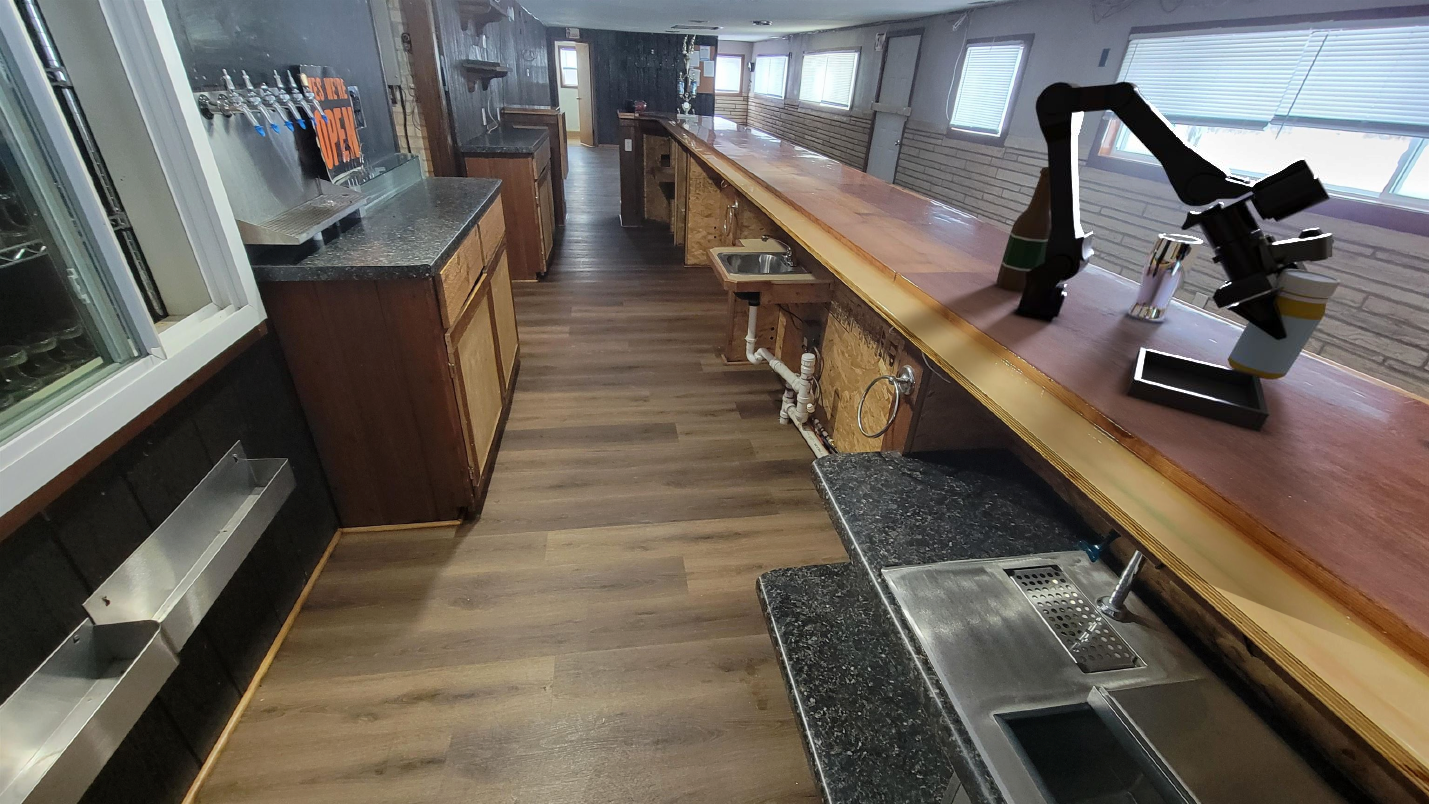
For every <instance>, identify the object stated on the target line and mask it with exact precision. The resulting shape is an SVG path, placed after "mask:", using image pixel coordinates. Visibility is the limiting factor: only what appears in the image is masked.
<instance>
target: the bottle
mask: <svg viewBox="0 0 1429 804" xmlns="http://www.w3.org/2000/svg"><path fill="white" fill-rule="evenodd" d="M1277 280H1278V285H1279V286H1277V287H1275V288H1274V290H1275V289H1278V288H1281V287H1283V286H1284V289H1283V291H1282V293H1281V294H1280V296H1279V298H1278V300H1277V304H1278V307H1279V310H1280V313H1281V317H1282V320H1283V323H1284V326H1285V330H1286V333H1287V337H1286V338H1284V339H1281V340H1276V339H1275V338H1273V337H1272V336H1270V335H1269V334H1267V333H1266V332H1264V331H1263V330H1261V329H1260V328H1258V327H1257V326H1255V325H1253V324H1252V323H1250V322H1249V321H1247V324H1246V326H1245V328H1244V329H1243V331H1242V333H1241V335H1240V336H1239V337H1238V340H1237V341H1236V343H1235V345H1234V347H1233V349H1232V350H1231V352H1230V353H1229V356H1228V358H1227V362H1228V365H1229V366H1230V367H1231V369H1236V370H1240V371H1244V372H1248V373H1252V374H1256V375H1259V376H1260V379H1261V380H1262V379H1263V380H1278V379H1281V378H1284V377H1285V376H1286V375H1287V374H1288V372H1289V371H1290V369H1291V368H1292V367H1293V365H1294V363H1295V362H1296V360H1297V359H1298V357H1299V356H1300V354H1301V352H1302V351H1303V349H1304V348H1305V346H1306V345H1307V343H1308V342H1309V340H1310V338H1311V337H1312V336H1313V334H1314V332H1315V331H1316V329H1317V327H1318V326H1319V324H1320V323H1321V321H1322V319H1323V317H1324V316H1325V314H1326V307H1327V304H1328V303H1329V301H1330V299H1331V297H1333V295H1334V294H1335V292H1336V291H1337V289H1338V287H1339V285H1340V284H1341V280H1340V279H1339V278H1337V277H1334V276H1331V275H1327V274H1325V273H1320V272H1315V271H1310V270H1307V271H1305V270H1297V269H1284V270H1283V271H1282V272H1281V274H1280V275H1279V277H1278V279H1277Z"/></svg>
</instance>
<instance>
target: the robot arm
mask: <svg viewBox="0 0 1429 804" xmlns="http://www.w3.org/2000/svg"><path fill="white" fill-rule="evenodd" d="M1102 111H1111V112H1112V113H1114V115H1115V116H1116V117H1117V118H1118V119H1119V120H1120V121H1121V122H1122V124H1123V125H1124V126H1125V127H1126V128H1127V129H1128V130H1129V131H1130V132H1131V133H1132V134H1133V135H1134V136H1135V137H1136V138H1137V140H1139V142H1140V143H1141V144H1142V145H1143V146H1144V147H1145V148H1146V149H1147V150H1148V151H1149V153H1150V154H1151V155H1152V156H1153V157H1154V158H1155V159H1156V160H1157V161H1158V162H1159V163H1160V165H1161V167H1162V168H1163V171H1164V172H1165V174H1166V177H1167V179H1168V181H1169V183H1170V185H1171V187H1172V189H1173V190H1174V192H1175V194H1176V195H1177V198H1178V199H1179V200H1180V201H1181V202H1182V203H1183V204H1184V205H1187V206H1189V207H1204V206H1207V205H1210V204H1212V203H1214V202H1216V201H1217V200H1236V199H1239V198H1241V197H1243V196H1245V195H1247V196H1246V197H1243V198H1242V199H1239V200H1237V201H1235V202H1232V203H1230V204H1229V205H1225V203H1223V202H1218V203H1216V204H1214V205H1212V206H1210V207H1208V208H1206V209H1204V210H1202V211H1200V212H1195V211H1188V212H1187V214H1186V218H1185V221H1184V222H1183V223H1182V225H1181V226H1180V229H1181V230H1182V231H1190V230H1192V229H1194V228H1196V227H1198V226H1199V228H1200V230H1201V232H1202V234H1203V235H1204V237H1205V239H1206V241H1207V243H1208V244H1209V247H1210V248H1211V250H1212V252H1213V253H1214V255H1215V256H1213V257H1211V260H1212V262H1213V263H1214V264H1215V265H1216V264H1220V266H1221V268H1222V269H1223V272H1224V273H1225V275H1226V277H1227V278H1228V280H1227V281H1224V283H1225V285H1223V286H1220V287H1218V288H1216V290H1215V292H1214V294H1213V295H1212V297H1211V298H1212V299H1213V301H1214V303H1215V305H1216V307H1217V308H1218V309H1222V308H1226V310H1228V311H1231V312H1232V313H1234V314H1236V315H1237V316H1239V317H1241V318H1242V319H1243V320H1245V321H1247V322H1250V323H1252V324H1253V325H1255V326H1257V327H1258V328H1260V329H1261V330H1263V331H1264V332H1266V333H1267V334H1269V335H1270V336H1272V337H1273V338H1275V339H1276V340H1281V339H1284V338H1286V337H1287V333H1286V330H1285V326H1284V323H1283V320H1282V317H1281V313H1280V310H1279V307H1278V304H1277V300H1278V298H1279V296H1280V294H1281V293H1282V291H1283V289H1284V286H1283V287H1281V288H1278V289H1275V290H1274V288H1275V287H1277V286H1279V285H1278V280H1277V279H1278V277H1279V275H1280V274H1281V272H1282V271H1283V270H1284V269H1297V270H1305V271H1308V269H1307V268H1306V266H1305V264H1304V262H1310V263H1313V262H1320V261H1326V260H1328V259H1329V258H1332V257H1333V244H1334V243H1335V239H1333V233H1331V232H1329V233H1326V234H1325V232H1323V230H1322V229H1321V228H1320V227H1316V228H1309V229H1305V230H1302V231H1301V232H1300V233H1299V235H1298V237H1297V238H1291V239H1287V240H1280V241H1277V239H1276V238H1275V236H1274V235H1273V234H1271V235H1270V234H1269V233H1268V234H1265V233H1264V232H1263V230H1262V228H1261V226H1260V224H1259V223H1258V222H1257V220H1256V218H1255V216H1254V215H1253V213H1252V211H1251V209H1250V207H1249V206H1248V204H1247V203H1249V202H1251V204H1252V205H1253V207H1254V209H1255V211H1256V212H1257V215H1259V217H1260V218H1261V220H1262V221H1266V220H1268V221H1269V220H1272V219H1273V220H1274V221H1275V222H1276V223H1279V222H1282V221H1283V220H1286V219H1289V218H1290V217H1292V216H1295V215H1298V214H1299V213H1302V212H1303V211H1306V210H1308V209H1311V208H1314V207H1316V206H1318V205H1320V204H1323V203H1325V202H1327V201H1329V200H1331V197H1330V195H1329V193H1328V191H1327V190H1326V188H1325V186H1324V185H1323V183H1322V181H1321V179H1320V178H1319V175H1318V174H1317V175H1315V174H1314V172H1313V170H1312V169H1311V167H1310V166H1309V164H1308V163H1307V161H1306V159H1305V158H1304V157H1300V158H1298V159H1295V160H1294V161H1292V162H1290V163H1289V164H1287V165H1286V166H1285V167H1283V168H1281V169H1279V170H1277V171H1275V172H1273V173H1270V174H1269V175H1267V176H1265V177H1263V178H1261V179H1259V180H1257V181H1255V180H1251V179H1250V178H1249V177H1247V178H1243V177H1240V176H1236V175H1232V173H1231V171H1230V170H1229V168H1228V167H1226V166H1225V165H1223V164H1222V163H1220V161H1218V160H1217V159H1214V158H1213V157H1211V156H1210V155H1208V154H1207V153H1206V152H1203V151H1202V150H1200V149H1198V148H1197V147H1195V146H1193V144H1191V143H1189V142H1188V141H1187V140H1186V139H1185V138H1184V136H1183V135H1181V133H1180V132H1179V131H1178V130H1177V129H1176V128H1175V127H1174V126H1173V125H1172V124H1171V123H1170V122H1169V121H1168V120H1167V119H1166V117H1165V116H1164V115H1162V114H1161V113H1160V112H1159V110H1158V109H1157V108H1156V107H1155V106H1154V105H1153V104H1152V103H1151V101H1149V100H1148V99H1147V97H1145V95H1143V93H1141V91H1140V88H1139V87H1138V85H1137V84H1135V83H1134V82H1129V81H1118V82H1116V83H1110V84H1100V85H1099V84H1098V85H1086V86H1080V85H1079V84H1078V83H1074V82H1073V83H1072V82H1065V81H1058V82H1054V83H1051V84H1049V85H1048V86H1046V87H1045V88H1044V89H1043V90H1042V91H1041V92H1040V94H1039V95H1038V96H1037V98H1036V101H1035V112H1036V113H1035V114H1036V117H1037V121H1038V125H1039V129H1040V131H1041V134H1042V136H1043V138H1044V141H1045V143H1046V146H1047V167H1048V171H1049V194H1050V217H1051V231H1050V235H1049V238H1048V241H1047V245H1046V249H1045V256H1044V263H1042V264H1040V265H1038V266H1037V267H1035V268H1033V269H1031V270H1030V271H1028V272H1026V284H1025V287H1024V290H1023V292H1021V293H1022V294H1021V297H1020V299H1019V302H1018V306H1017V308H1016V309H1015V310H1014V314H1015V315H1018V316H1023V317H1027V318H1030V319H1031V318H1032V319H1036V320H1040V321H1044V322H1048V323H1052V322H1053V321H1054V320H1055V319H1056V318H1058V317H1059V315H1060V313H1061V311H1062V308H1063V306H1064V303H1065V300H1066V297H1067V292H1065V290H1066V287H1067V284H1066V283H1065V282H1067V281H1068V280H1070V279H1072V278H1074V277H1075V276H1077V275H1078V274H1080V273H1081V272H1082V271H1083V270H1084V269H1085V268H1087V266H1088V264H1089V263H1090V258H1091V257H1092V256H1094V255H1095V252H1094V251H1093V247H1092V243H1093V236H1094V235H1093V234H1094V233H1093V231H1090V232H1086V233H1084V231H1083V229H1082V226H1081V224H1080V202H1079V199H1080V197H1079V169H1078V166H1079V165H1078V164H1079V163H1078V135H1079V133H1080V129H1081V125H1082V122H1083V119H1084V113H1091V112H1102ZM1249 193H1252V194H1250V195H1248V194H1249Z"/></svg>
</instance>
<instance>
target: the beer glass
mask: <svg viewBox="0 0 1429 804" xmlns="http://www.w3.org/2000/svg"><path fill="white" fill-rule="evenodd" d="M1203 242H1204V241H1203V240H1201V239H1199V238H1196V237H1193V236H1188V235H1182V234H1172V233H1160V234H1158V235H1157V238H1156V240H1155V241H1154V243H1153V245H1152V246H1151V249H1150V251H1149V253H1148V256H1147V257H1146V260H1145V263H1144V266H1143V270H1142V273H1141V278H1140V282H1139V287H1138V291H1137V294H1136V297H1135V299H1134V300H1133V302H1132V304H1131V305H1130V306H1129V308H1128V310H1127V312H1126V313H1127V315H1128V316H1129V317H1131V318H1134V319H1136V320H1140V321H1144V322H1150V323H1162V322H1164V321H1165V319H1166V316H1167V311H1168V308H1169V305H1170V303H1171V301H1172V299H1173V297H1174V296H1175V295H1176V293H1177V292H1178V290H1179V289H1180V287H1182V285H1183V284H1184V282H1185V280H1186V279H1187V277H1189V275H1190V272H1191V271H1192V269H1193V267H1194V265H1195V262H1196V260H1197V257H1198V255H1199V253H1200V250H1201V247H1202V245H1203Z"/></svg>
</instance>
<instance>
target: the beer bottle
mask: <svg viewBox="0 0 1429 804" xmlns="http://www.w3.org/2000/svg"><path fill="white" fill-rule="evenodd" d="M1039 174H1040V176H1039V178H1038V181H1037V184H1036V187H1035V189H1034V192H1033V195H1032V197H1031V199H1030V202H1029V203H1028V206H1027V208H1026V209H1025V210H1024V211H1022V212H1021V214H1020V215H1019V216H1018V217H1017V219H1016V220H1015V221H1014V223H1013V225H1012V227H1011V230H1010V233H1009V235H1008V238H1007V239H1008V240H1007V243H1006V247H1005V250H1004V252H1003V257H1002V260H1001V262H1000V263H1001V264H1000V267H999V270H998V273H997V278H996V284H997V285H998V286H999V288H1001V289H1002V288H1003V289H1006V290H1008V291H1012V292H1021V293H1023V290H1024V287H1025V284H1026V272H1028V271H1030V270H1031V269H1033V268H1035V267H1037V266H1038V265H1040V264H1042V263H1044V256H1045V249H1046V245H1047V241H1048V238H1049V235H1050V231H1051V217H1050V194H1049V171H1048V166H1044V167H1042V168H1041V169H1040V171H1039Z"/></svg>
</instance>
